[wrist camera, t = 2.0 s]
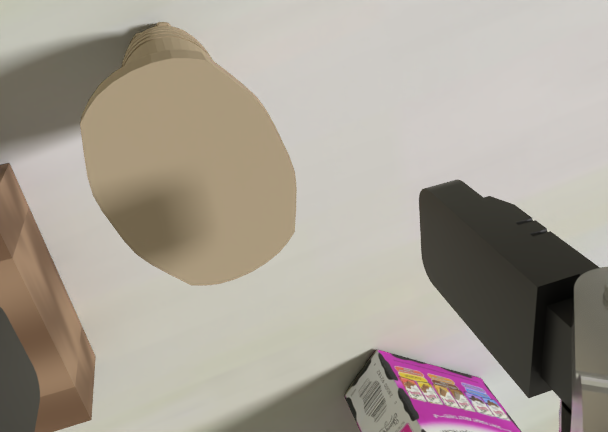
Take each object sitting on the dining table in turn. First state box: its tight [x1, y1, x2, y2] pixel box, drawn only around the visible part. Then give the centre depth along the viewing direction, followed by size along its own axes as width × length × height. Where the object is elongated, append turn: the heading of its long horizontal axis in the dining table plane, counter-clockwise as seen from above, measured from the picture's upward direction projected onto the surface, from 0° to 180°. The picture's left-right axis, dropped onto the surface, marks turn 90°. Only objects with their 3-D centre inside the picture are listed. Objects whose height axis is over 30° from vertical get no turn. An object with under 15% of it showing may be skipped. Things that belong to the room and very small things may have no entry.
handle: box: [80, 22, 296, 285], centre depth 21 cm, size 5×6×15 cm
